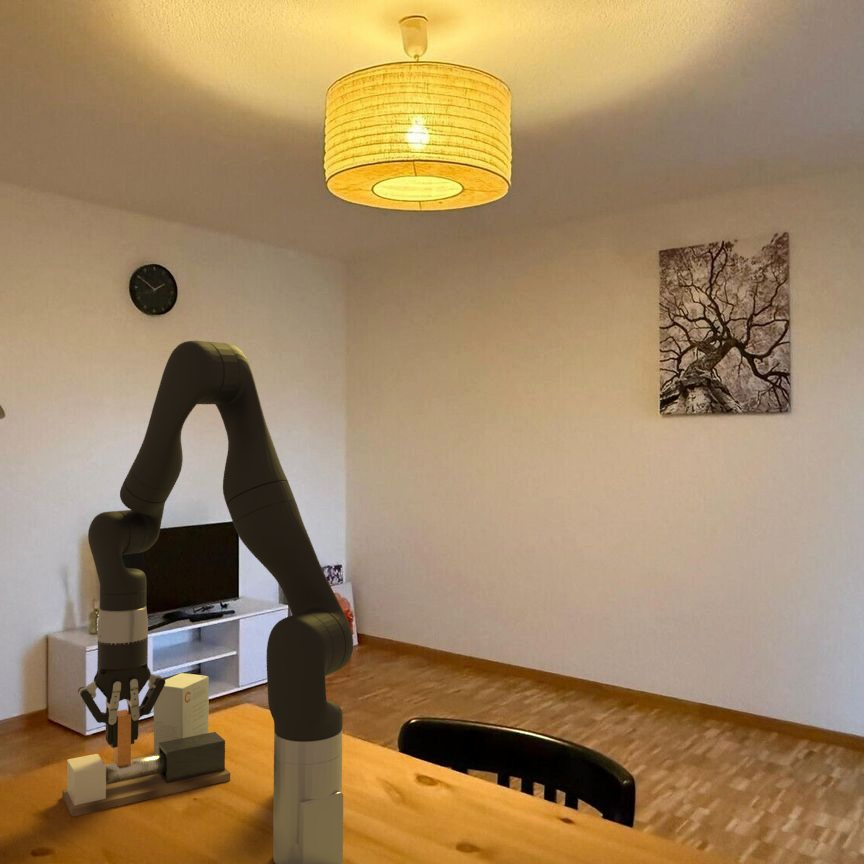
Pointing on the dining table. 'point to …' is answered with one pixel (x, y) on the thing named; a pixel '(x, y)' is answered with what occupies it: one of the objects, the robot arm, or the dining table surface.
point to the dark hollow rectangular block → (193, 756)
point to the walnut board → (142, 791)
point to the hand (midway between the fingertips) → (122, 744)
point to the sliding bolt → (122, 756)
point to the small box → (181, 708)
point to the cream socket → (86, 779)
